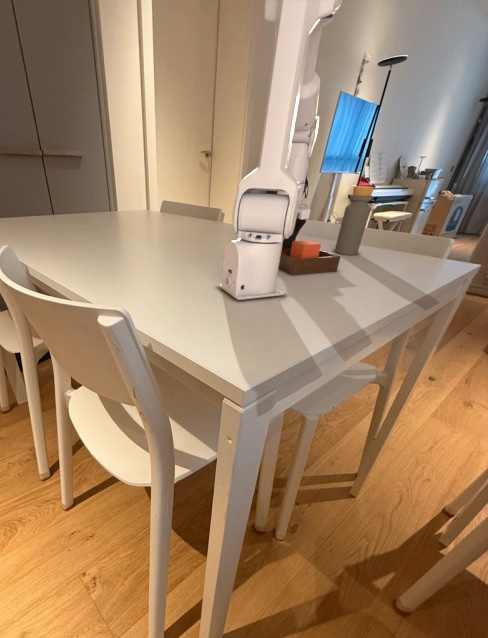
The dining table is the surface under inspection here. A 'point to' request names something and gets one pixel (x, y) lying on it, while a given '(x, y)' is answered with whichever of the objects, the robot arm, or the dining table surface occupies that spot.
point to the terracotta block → (305, 249)
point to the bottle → (354, 221)
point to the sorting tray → (308, 263)
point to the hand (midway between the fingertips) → (280, 248)
